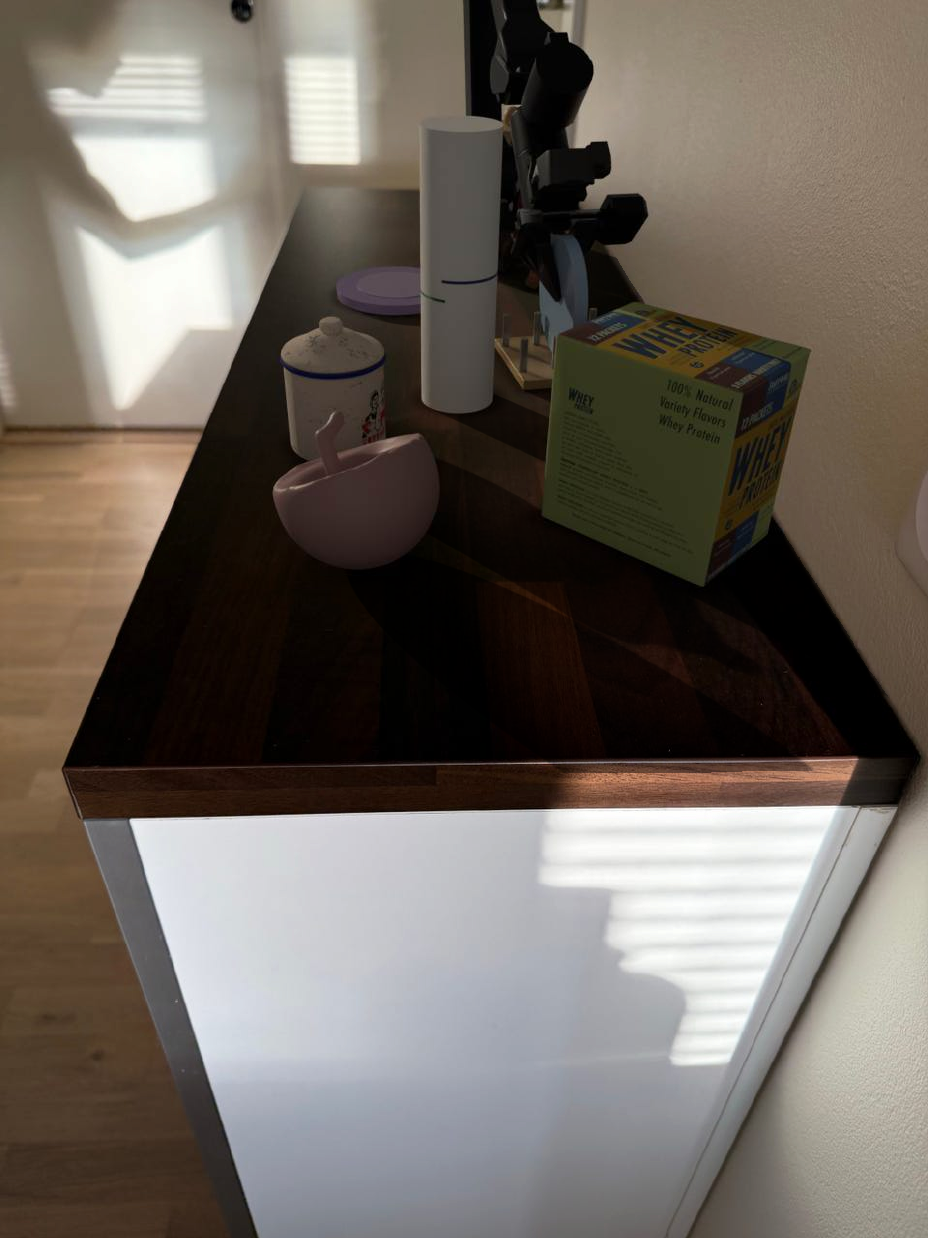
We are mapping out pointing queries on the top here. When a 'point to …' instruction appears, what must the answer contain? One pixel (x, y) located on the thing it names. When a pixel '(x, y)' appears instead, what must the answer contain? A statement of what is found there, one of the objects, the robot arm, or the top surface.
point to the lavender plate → (382, 290)
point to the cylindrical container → (459, 259)
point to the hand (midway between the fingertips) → (566, 299)
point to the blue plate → (565, 289)
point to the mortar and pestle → (360, 499)
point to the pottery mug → (515, 258)
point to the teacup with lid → (334, 387)
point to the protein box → (669, 436)
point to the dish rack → (529, 354)
